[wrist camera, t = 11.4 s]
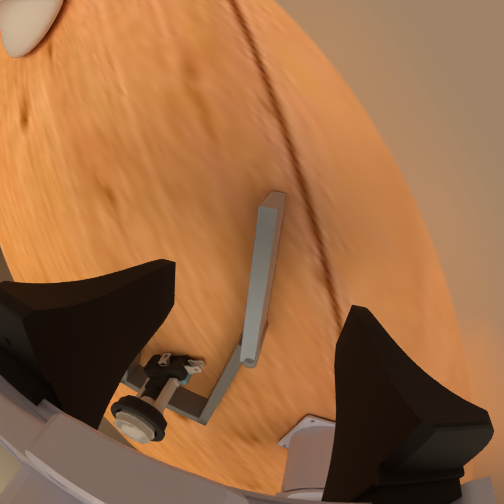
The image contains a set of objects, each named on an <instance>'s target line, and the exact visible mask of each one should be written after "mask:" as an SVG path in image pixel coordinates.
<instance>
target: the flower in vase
mask: <svg viewBox="0 0 504 504" xmlns="http://www.w3.org/2000/svg"><path fill="white" fill-rule="evenodd" d="M63 1H64V0H0V30H1V36H2V42H3V45H4V48H5V50H6V52H7V54H8V55H10V56H11V57H13V58H19V57H22V56H23V55H25V54H27V53H28V52H30V51H31V50H32V49H33V48H34V47H35V46H36V45H37V44H38V43H39V42H40V41H41V40H42V38H43V37H44V36H45V34H46V33H47V32H48V30H49V29H50V27H51V25H52V24H53V22H54V20H55V19H56V17H57V15H58V13H59V11H60V8H61V6H62V4H63Z"/></svg>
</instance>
